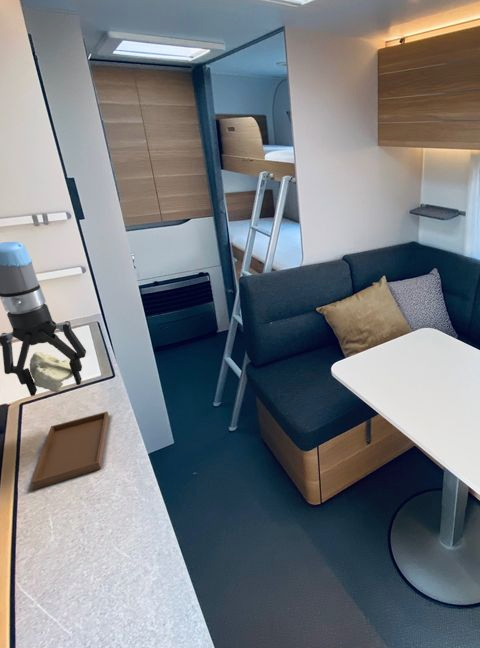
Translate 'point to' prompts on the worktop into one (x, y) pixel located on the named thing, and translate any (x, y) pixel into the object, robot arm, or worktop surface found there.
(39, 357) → the cheese
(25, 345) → the robot arm
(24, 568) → the worktop surface
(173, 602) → the worktop surface
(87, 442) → the holder
